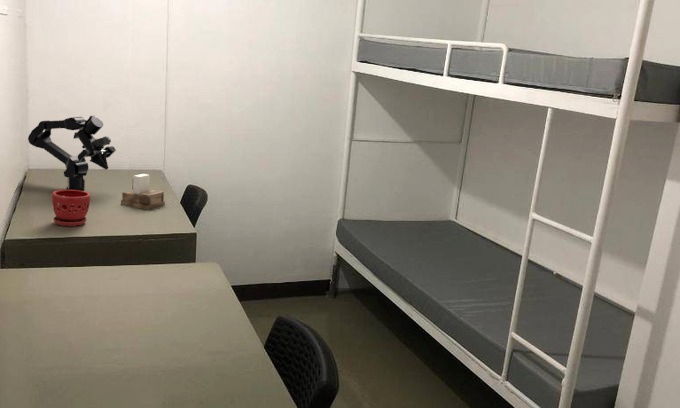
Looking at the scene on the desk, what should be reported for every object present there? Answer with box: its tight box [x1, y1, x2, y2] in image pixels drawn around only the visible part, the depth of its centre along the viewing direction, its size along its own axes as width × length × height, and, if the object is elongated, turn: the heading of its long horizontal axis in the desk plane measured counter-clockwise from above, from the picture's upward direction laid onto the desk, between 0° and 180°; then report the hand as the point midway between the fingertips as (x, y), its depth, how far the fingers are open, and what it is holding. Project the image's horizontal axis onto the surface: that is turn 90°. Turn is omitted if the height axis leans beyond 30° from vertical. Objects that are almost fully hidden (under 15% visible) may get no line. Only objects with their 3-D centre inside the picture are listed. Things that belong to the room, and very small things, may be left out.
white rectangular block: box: [131, 173, 151, 195], centre depth 273 cm, size 4×6×11 cm
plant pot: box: [51, 189, 91, 227], centre depth 237 cm, size 13×13×12 cm
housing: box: [120, 189, 166, 210], centre depth 274 cm, size 14×12×6 cm
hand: (107, 168), depth 279 cm, fingers closed
